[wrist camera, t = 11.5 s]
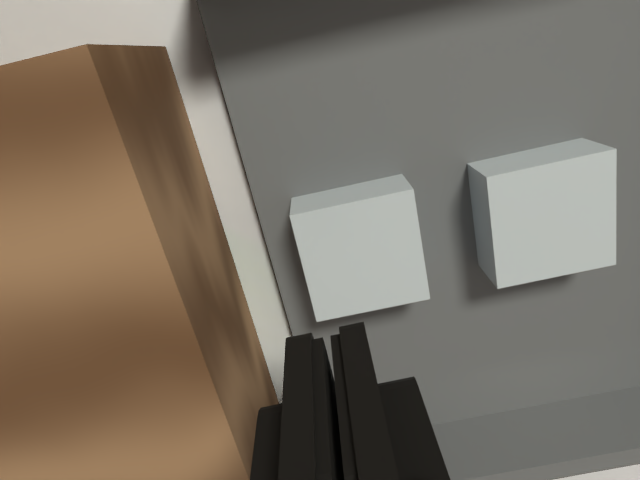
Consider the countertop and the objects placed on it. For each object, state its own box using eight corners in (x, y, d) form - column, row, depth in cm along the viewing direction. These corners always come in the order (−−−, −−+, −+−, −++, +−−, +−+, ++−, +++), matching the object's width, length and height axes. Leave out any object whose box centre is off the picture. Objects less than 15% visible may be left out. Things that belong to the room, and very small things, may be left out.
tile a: (616, 148, 15) (582, 137, 17) (486, 177, 15) (467, 163, 17) (616, 264, 16) (584, 242, 18) (497, 288, 16) (478, 264, 18)
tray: (190, -33, 15) (157, -56, 12) (755, -178, 14) (892, -248, 11) (327, 450, 22) (330, 519, 19) (706, 379, 21) (778, 438, 18)
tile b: (413, 188, 15) (402, 173, 17) (289, 215, 15) (291, 197, 17) (430, 299, 17) (418, 274, 18) (316, 321, 17) (315, 295, 19)
